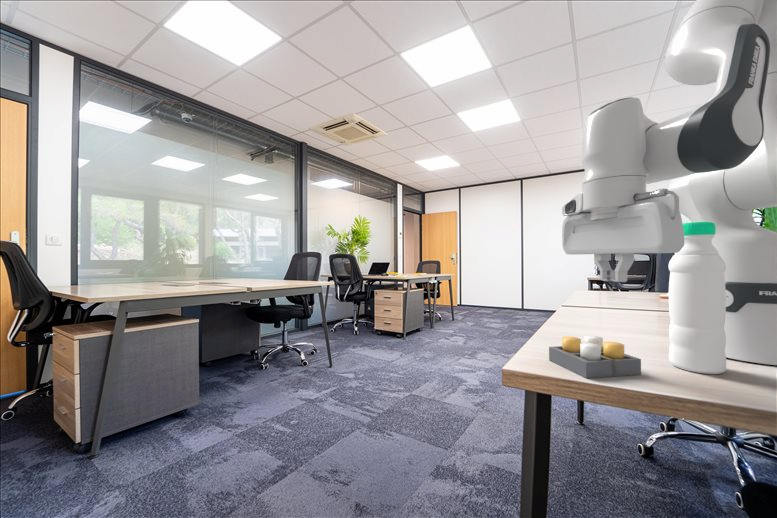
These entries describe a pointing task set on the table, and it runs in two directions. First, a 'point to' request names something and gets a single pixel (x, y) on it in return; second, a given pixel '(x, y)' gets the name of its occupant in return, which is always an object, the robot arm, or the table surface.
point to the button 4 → (613, 350)
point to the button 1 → (571, 344)
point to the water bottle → (697, 303)
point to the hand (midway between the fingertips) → (613, 281)
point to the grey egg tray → (595, 364)
